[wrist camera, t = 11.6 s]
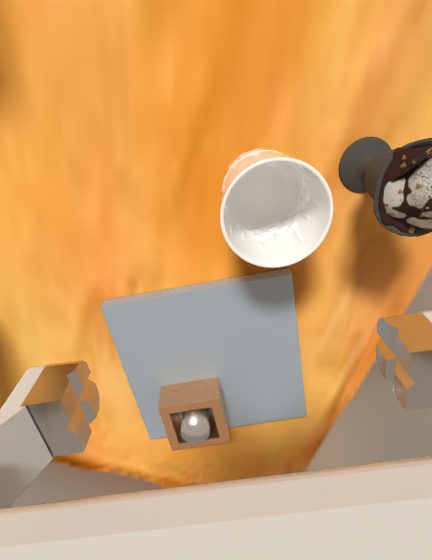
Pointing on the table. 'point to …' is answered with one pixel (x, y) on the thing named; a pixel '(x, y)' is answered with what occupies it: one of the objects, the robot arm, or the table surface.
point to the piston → (195, 425)
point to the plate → (214, 345)
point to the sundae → (393, 182)
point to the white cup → (274, 208)
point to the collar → (192, 399)
